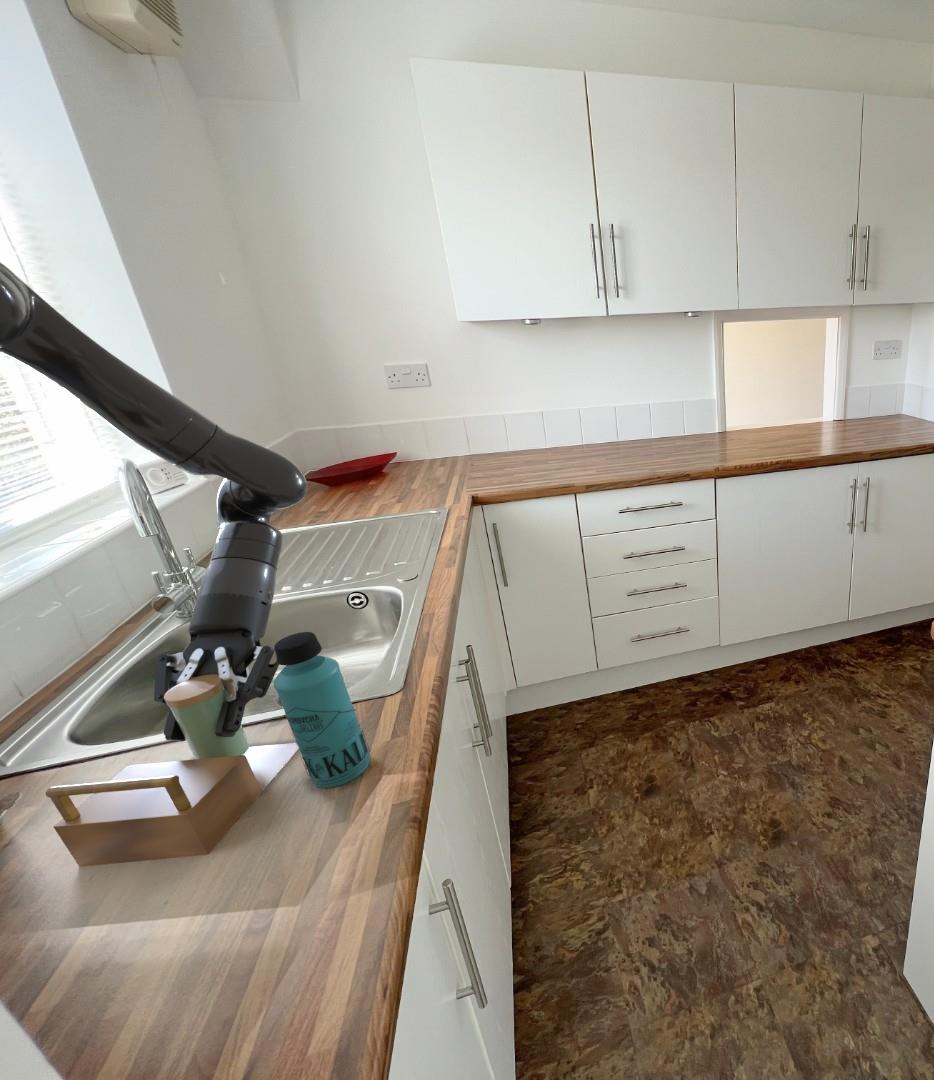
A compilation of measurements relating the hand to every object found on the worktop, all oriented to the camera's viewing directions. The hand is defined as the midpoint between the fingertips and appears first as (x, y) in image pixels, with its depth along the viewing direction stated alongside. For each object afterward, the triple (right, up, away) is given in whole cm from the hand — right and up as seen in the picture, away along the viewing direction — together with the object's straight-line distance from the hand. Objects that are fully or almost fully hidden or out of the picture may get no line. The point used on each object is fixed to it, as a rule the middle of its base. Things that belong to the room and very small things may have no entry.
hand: (200, 737), depth 68 cm
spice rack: (+1, -8, 0) cm, 8 cm away
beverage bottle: (+15, -6, +3) cm, 17 cm away
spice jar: (0, -3, +3) cm, 5 cm away
